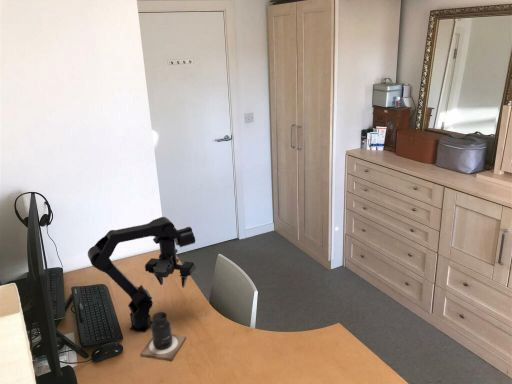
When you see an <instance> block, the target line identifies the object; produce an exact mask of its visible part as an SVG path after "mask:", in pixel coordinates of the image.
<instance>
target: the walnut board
mask: <svg viewBox="0 0 512 384" xmlns="http://www.w3.org/2000/svg"><path fill="white" fill-rule="evenodd" d="M186 340H187V336H186V335H180V334H176V333H175V334H174V333H173V334H172V341H173V342H172V345H171V346H170V347H169V348H167V349H165V350H158V349H156V348H155V347H154V346H153V339H152V337H151V338H150V340H149V341H148V342H147V344H146V345H145V346H144V348H143V349H142V350H141V352H140V356H141V357H146V358H152V359H158V360H162V361H169V362H172V361H173V360H175V359H174V358H175V357H176V355H177V353H179V351H180V349H181V347H182V346H183V345H184V343H185V341H186Z"/></svg>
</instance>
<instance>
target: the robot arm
mask: <svg viewBox="0 0 512 384" xmlns="http://www.w3.org/2000/svg"><path fill="white" fill-rule="evenodd" d="M149 237H153V239H152V241H153V243H155V244H156V245H157V244H159V252H160V253H159V254H158V258H155V257H154V258H153V257H151V258H150V259H149V260H148V261H147V262H146V263H145V265H144V269H145V272H148V273H149V274H152V275H154V276H155V278H156V279H157V281H158V283H159V285H160V286H163V283H164V279H166V278H168V277H169V275H173V274H174V271H175V270H177V271H179V273H180V274H179V277H180V278H181V279H180V280H181V287H182V288H185V286H186V282H187V280H188V277H189V276H191V275H192V274H193V272H194V271H195V270H196V269H197V268H196V264H195V262H192V261H184V263H183V264H181V263H180V264H178V263H179V262H180V260H179V258H177V253H178V251H179V250H178V249H176V246H178V247H179V248H183V247H186V246H190V245H194V244H195V243H196V237H195V234H194V232H193V229H192V227H191V226H186V227H185V228H181V229H177V228H176V227H175V225H174V223H173V222H172V221H171V220H170V219H169V218H167V217H166V216H161V217H158V218H156V219H152V220H151V221H150V222H149V223H144V224H140V225H135V226H129V227H125V228H119V229H112V230H111V229H110V230H109V231H108V232H107V233H106V234H105V235H104V236H103V237H101V238H100V239H99V240H98V241H97V242H96V243H95V244H94V245H93V246H91V247H90V248H89V249H88V251H87V257H88V259H89V261H90V264H91V265H92V267H94V268H95V269H97V270H98V271H100V272H103V273H104V274H107V276H108V277H109V278H111V280H113V281H114V283H115V284H116V285H118V286H119V288H121V290H122V291H124V292H125V293H126V294H127V295H128V297H130V299H131V300H130V302H129V303H128V305H127V306H128V308H129V310H130V313H129V316H130V321H131V322H130V323H131V327H130V328H129V330H130V331H134V332H135V331H136V332H141V333H145V332H146V331H147V330H148V329H149V328H150V327H151V324H152V322H153V320H151V315H150V311H151V309H152V307H153V303H154V302H153V301H152V299H153V298H152V296H151V295H150V294H151V293H149V291H148V289H146V288H144V286H143V285H142V284H140V286H139V287H138V286H136V285H135V284H134V283H133V281H131V280H130V279H129V278H128V277H127V276H126V275H125V274H124V273H123V272H122V271H121V270H120V268H118V266H116V264H114V263H113V262H112V260H111V256H112V255H113V253H114V251H115V249H116V247H117V245H118V244H120V243H124V242H129V241H134V240H139V239H143V238H144V239H145V238H149Z"/></svg>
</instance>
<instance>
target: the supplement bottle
mask: <svg viewBox="0 0 512 384" xmlns="http://www.w3.org/2000/svg"><path fill="white" fill-rule="evenodd" d="M150 332H151V338H152V339H153V346H154V347H155V348H156V349H158V350H165V349H167V348H169V347H170V346H171V345H172V342H173V341H172V333H173V332H172V325H171V321H170V320H169V319H168V316H167V313H166V312H163V311H158V312H156V313H154V314H153V315H152V324H151V325H150Z"/></svg>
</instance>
